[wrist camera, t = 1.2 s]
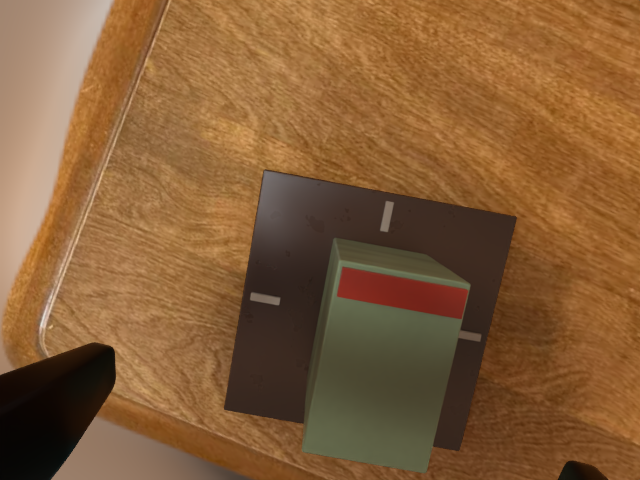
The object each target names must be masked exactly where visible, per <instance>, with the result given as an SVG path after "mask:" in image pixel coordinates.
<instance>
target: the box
mask: <svg viewBox="0 0 640 480" xmlns="http://www.w3.org/2000/svg"><path fill="white" fill-rule="evenodd" d="M470 286H471V285H470V283H468V282H467V281H465V280H464V279H462V278H461V277H459V276H458V275H456V274H455V273H453V272H452V271H450V270H449V269H447V268H446V267H444V266H443V265H441V264H440V263H438V262H437V261H435V260H434V259H432V258H431V257H429V256H428V255H426V254H421V253H416V252H410V251H405V250H400V249H394V248H389V247H383V246H378V245H373V244H367V243H362V242H356V241H351V240H345V239H340V238H334V239H333V244H332V249H331V254H330V259H329V265H328V270H327V275H326V280H325V286H324V291H323V296H322V301H321V306H320V312H319V317H318V322H317V327H316V333H315V338H314V343H313V348H312V353H311V359H310V364H309V369H308V374H307V385H306V399H305V413H304V426H303V440H302V451H303V452H305V453H311V454H317V455H322V456H328V457H334V458H340V459H345V460H351V461H357V462H363V463H368V464H374V465H380V466H386V467H391V468H397V469H403V470H408V471H414V472H420V473H426V472H427V468H428V464H429V460H430V455H431V451H432V447H433V443H434V438H435V434H436V430H437V426H438V421H439V417H440V413H441V409H442V405H443V400H444V396H445V392H446V388H447V383H448V379H449V375H450V371H451V367H452V362H453V358H454V354H455V350H456V345H457V341H458V337H459V333H460V329H461V324H462V320H463V316H464V312H465V307H466V303H467V299H468V295H469V290H470Z"/></svg>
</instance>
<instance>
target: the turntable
mask: <svg viewBox="0 0 640 480" xmlns="http://www.w3.org/2000/svg"><path fill="white" fill-rule="evenodd" d="M516 219H517V217H516V216H511V215H506V214H500V213H495V212H490V211H484V210H479V209H474V208H468V207H463V206H458V205H452V204H447V203H442V202H436V201H431V200H426V199H420V198H415V197H410V196H404V195H399V194H394V193H388V192H383V191H378V190H372V189H367V188H362V187H356V186H351V185H346V184H340V183H335V182H330V181H324V180H319V179H314V178H308V177H303V176H298V175H293V174H287V173H282V172H277V171H271V170H266V169H265V170H264V172H263V177H262V183H261V189H260V195H259V201H258V207H257V213H256V219H255V225H254V231H253V237H252V243H251V249H250V255H249V261H248V267H247V273H246V279H245V285H244V291H243V297H242V303H241V309H240V315H239V321H238V327H237V333H236V339H235V345H234V351H233V357H232V363H231V369H230V375H229V381H228V387H227V393H226V399H225V405H224V410H228V411H234V412H240V413H245V414H251V415H257V416H263V417H268V418H274V419H280V420H285V421H291V422H297V423H302V424H304V413H305V399H306V385H307V374H308V369H309V364H310V359H311V353H312V348H313V343H314V338H315V333H316V327H317V322H318V317H319V312H320V306H321V301H322V296H323V291H324V286H325V280H326V275H327V270H328V265H329V259H330V254H331V249H332V244H333V239H334V238H340V239H345V240H351V241H356V242H362V243H367V244H373V245H378V246H383V247H389V248H394V249H400V250H405V251H410V252H416V253H421V254H426V255H428V256H429V257H431V258H432V259H434V260H435V261H437V262H438V263H440V264H441V265H443V266H444V267H446V268H447V269H449V270H450V271H452V272H453V273H455V274H456V275H458V276H459V277H461V278H462V279H464V280H465V281H467V282H468V283H470V285H471V286H470V290H469V295H468V299H467V303H466V307H465V312H464V316H463V320H462V324H461V329H460V333H459V337H458V341H457V345H456V350H455V354H454V358H453V362H452V367H451V371H450V375H449V379H448V383H447V388H446V392H445V396H444V400H443V405H442V409H441V413H440V417H439V421H438V426H437V430H436V434H435V438H434V443H433V447H439V448H445V449H451V450H456V451H459V450H460V447H461V443H462V439H463V435H464V431H465V427H466V422H467V418H468V414H469V410H470V406H471V402H472V398H473V394H474V390H475V386H476V382H477V378H478V374H479V370H480V365H481V361H482V357H483V353H484V349H485V345H486V341H487V337H488V333H489V329H490V325H491V321H492V317H493V313H494V308H495V304H496V300H497V296H498V292H499V288H500V284H501V280H502V276H503V272H504V268H505V264H506V260H507V256H508V251H509V247H510V243H511V239H512V235H513V231H514V227H515V223H516Z"/></svg>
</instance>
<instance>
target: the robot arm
mask: <svg viewBox="0 0 640 480" xmlns="http://www.w3.org/2000/svg"><path fill="white" fill-rule="evenodd" d="M115 380H116V370H115V351H114V349H113V347H111V346H109V345H105V344H101V343H95V342H94V343H90V344H87V345H84V346H81V347H78V348H75V349H73V350H70V351H67V352H64V353H61V354H58V355H56V356H53V357H50V358H47V359H44V360H41V361H39V362H36V363H33V364H30V365H27V366H24V367H21V368H19V369H16V370H13V371H10V372H7V373H4V374H2V375H0V480H51V479H52V477H53V476H54V475H55V474H56V472H57V471H58V470H59V469H60V467H61V466H62V464H63V463H64V461H66V459H67V458H68V457H69V455H70V454H71V452H72V451H73V449H74V448H75V446H76V445H77V443H78V442H79V440H80V439H81V437H82V436H83V434H84V432H85V431H86V430H87V428H88V426H89V425H90V423H91V422H92V420H93V419H94V417H95V416H96V414H97V413H98V411H99V410H100V408H101V406H102V405H103V403H104V402H105V400H106V399H107V397H108V396H109V394H110V393H111V391H112V389H113V387H114V384H115ZM558 480H608V479H607V478H606V477H605V476H604V475H603V474H602V473H601V472H600V471H599V470H598V469H597V468H596V467H594V466H592V465H589V464H585V463H581V462H577V461H568V462H567V463H566V464H565V466H564V467H563V470H562V472H561V474H560V476H559V478H558Z"/></svg>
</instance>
